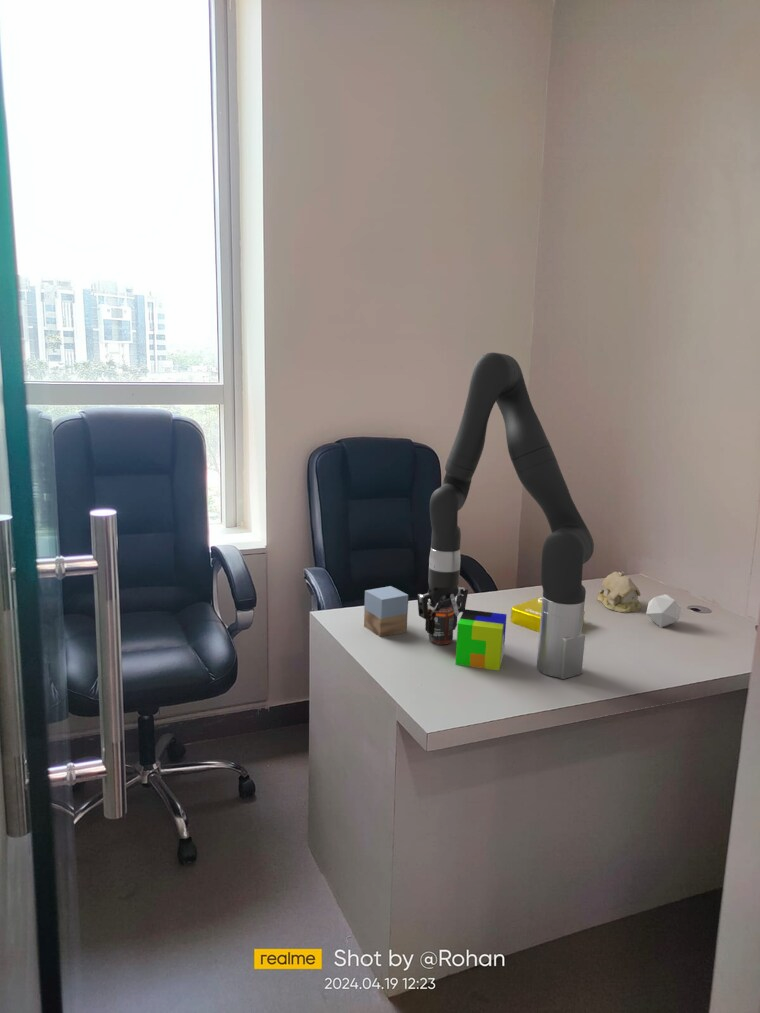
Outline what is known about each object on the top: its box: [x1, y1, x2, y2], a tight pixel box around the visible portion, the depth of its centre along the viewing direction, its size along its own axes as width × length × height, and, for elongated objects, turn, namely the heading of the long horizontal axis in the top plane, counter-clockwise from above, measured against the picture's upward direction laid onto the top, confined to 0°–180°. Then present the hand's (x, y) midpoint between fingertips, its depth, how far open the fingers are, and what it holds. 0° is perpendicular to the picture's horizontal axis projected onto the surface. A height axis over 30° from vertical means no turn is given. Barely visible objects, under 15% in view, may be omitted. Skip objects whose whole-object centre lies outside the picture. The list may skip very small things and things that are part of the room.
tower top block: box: [363, 585, 409, 619], centre depth 185 cm, size 8×8×5 cm
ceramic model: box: [597, 571, 642, 614], centre depth 210 cm, size 14×11×10 cm
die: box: [645, 593, 682, 628], centre depth 195 cm, size 8×9×10 cm
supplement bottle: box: [428, 598, 454, 645], centre depth 179 cm, size 6×6×11 cm
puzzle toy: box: [455, 608, 507, 671], centre depth 169 cm, size 10×10×10 cm
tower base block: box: [363, 609, 408, 638], centre depth 186 cm, size 8×8×5 cm
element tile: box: [510, 596, 586, 634], centre depth 194 cm, size 15×15×5 cm
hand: (441, 631), depth 179 cm, fingers closed on supplement bottle, 6 cm apart
